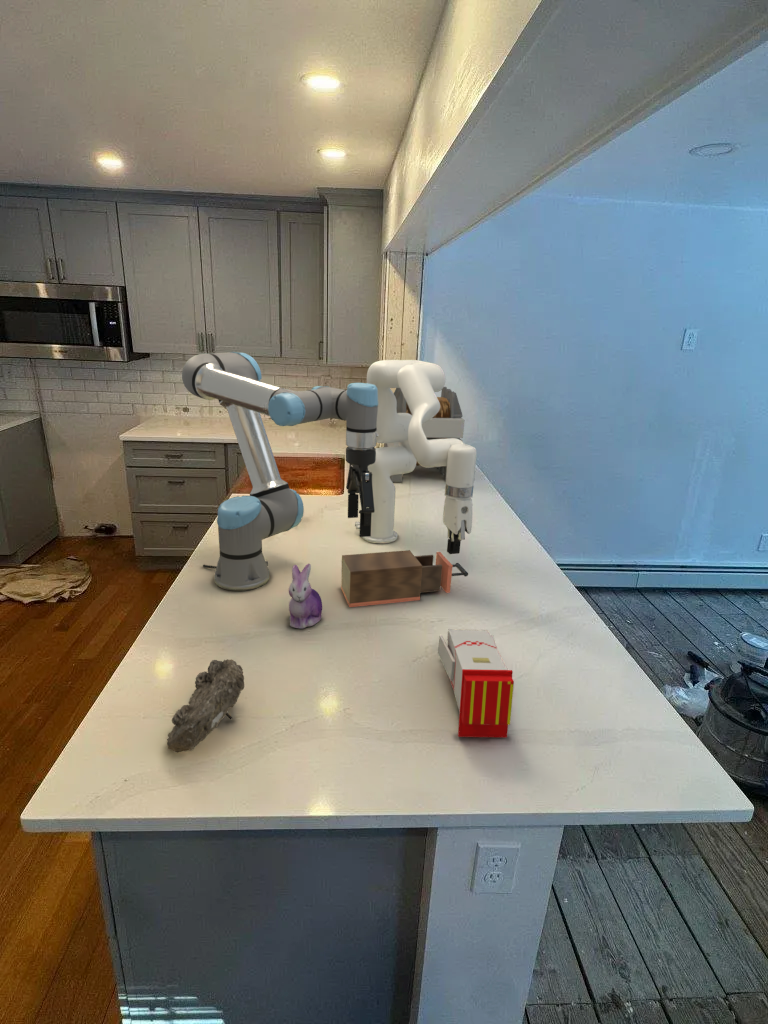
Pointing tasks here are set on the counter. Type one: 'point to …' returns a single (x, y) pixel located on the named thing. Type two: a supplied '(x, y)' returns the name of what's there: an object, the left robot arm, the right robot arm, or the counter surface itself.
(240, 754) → the counter surface
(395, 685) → the counter surface
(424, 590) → the drawer
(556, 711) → the counter surface
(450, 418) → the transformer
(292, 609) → the figurine
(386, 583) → the cabinet
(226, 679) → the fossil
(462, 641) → the toy
